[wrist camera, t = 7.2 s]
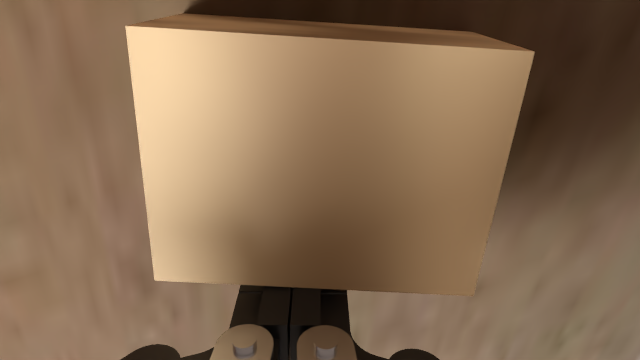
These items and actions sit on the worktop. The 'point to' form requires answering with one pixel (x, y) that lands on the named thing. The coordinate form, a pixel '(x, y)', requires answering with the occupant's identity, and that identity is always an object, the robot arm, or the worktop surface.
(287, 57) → the block
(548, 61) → the worktop surface
